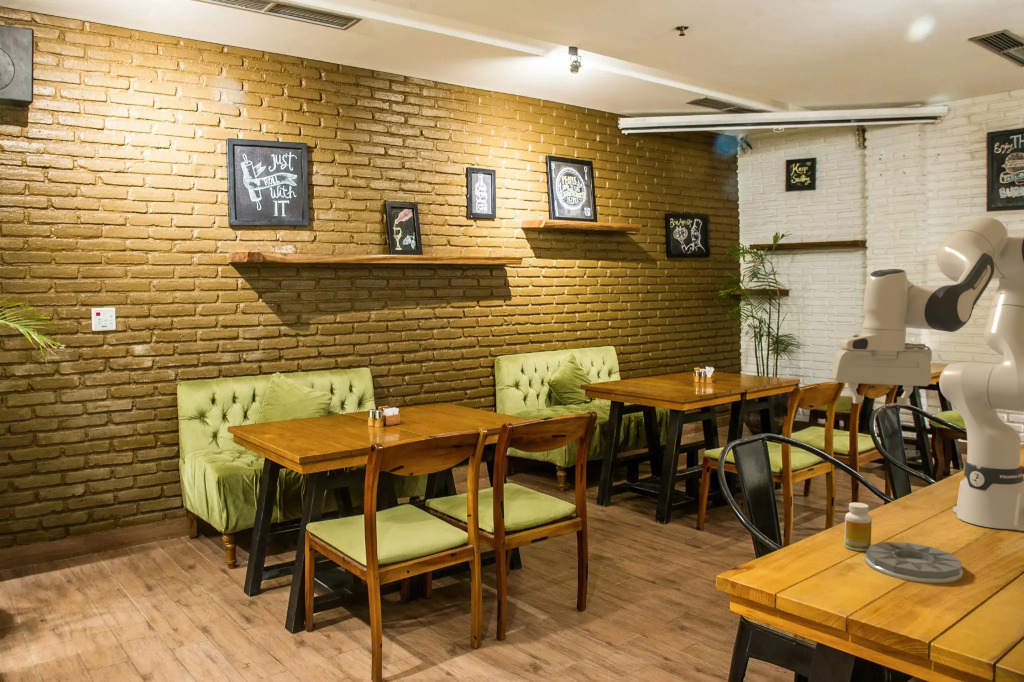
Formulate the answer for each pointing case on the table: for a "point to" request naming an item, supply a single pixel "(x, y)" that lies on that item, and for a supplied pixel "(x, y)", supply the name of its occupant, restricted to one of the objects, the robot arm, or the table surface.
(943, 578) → the grey faceted round plate
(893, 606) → the table surface
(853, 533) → the supplement bottle
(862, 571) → the table surface
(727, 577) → the table surface
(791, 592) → the table surface
